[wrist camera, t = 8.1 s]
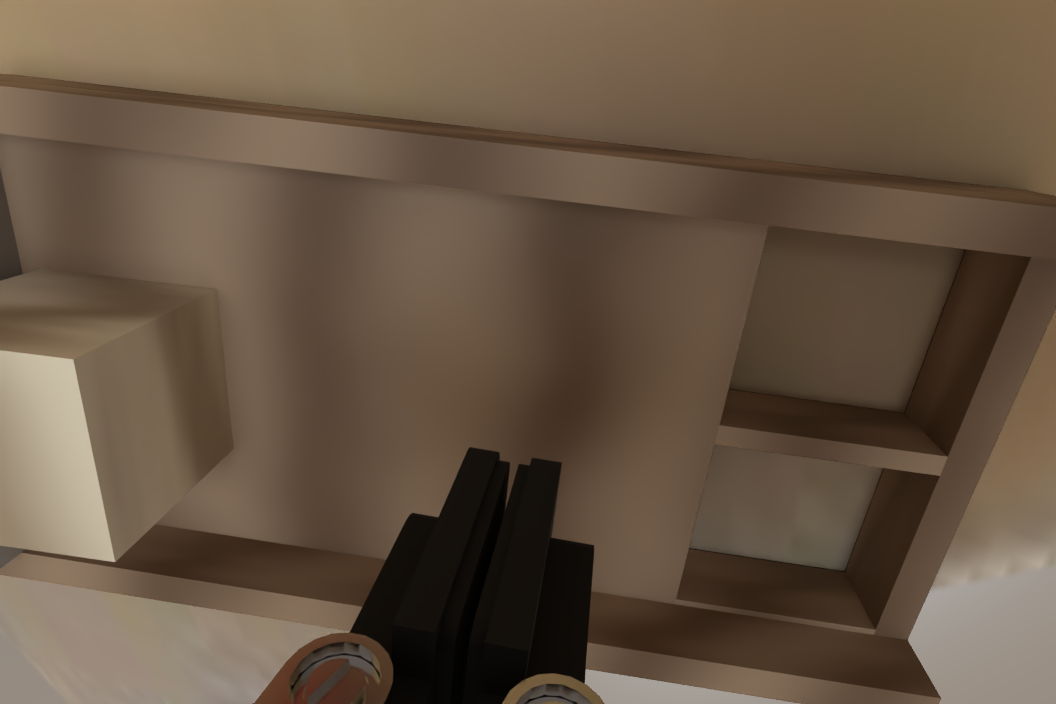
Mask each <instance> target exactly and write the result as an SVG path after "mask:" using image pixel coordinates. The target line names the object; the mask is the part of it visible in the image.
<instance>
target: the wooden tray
mask: <svg viewBox="0 0 1056 704" xmlns="http://www.w3.org/2000/svg"><path fill="white" fill-rule="evenodd" d="M769 226H776V227H784V228H793V229H801V230H809V231H818V232H826V233H834V234H843V235H851V236H859V237H868V238H876V239H885V240H893V241H901V242H910V243H918V244H926V245H935V246H943V247H951V248H960V249H966V251H965V254H964V256H963V259H962V262H961V264H960V267H959V270H958V272H957V275H956V278H955V280H954V283H953V286H952V288H951V291H950V294H949V296H948V299H947V302H946V304H945V307H944V310H943V312H942V315H941V318H940V320H939V323H938V326H937V328H936V331H935V334H934V336H933V339H932V342H931V344H930V347H929V350H928V352H927V355H926V358H925V360H924V363H923V366H922V368H921V371H920V374H919V376H918V379H917V382H916V384H915V387H914V390H913V392H912V395H911V398H910V400H909V403H908V406H907V408H906V411H905V413H900V412H892V411H885V410H877V409H870V408H862V407H855V406H848V405H840V404H833V403H825V402H818V401H810V400H803V399H795V398H788V397H781V396H773V395H766V394H758V393H751V392H743V391H736V390H729V385H730V381H731V377H732V373H733V369H734V365H735V361H736V357H737V353H738V349H739V345H740V341H741V337H742V333H743V329H744V325H745V321H746V317H747V313H748V309H749V305H750V301H751V297H752V293H753V289H754V285H755V281H756V277H757V273H758V269H759V265H760V261H761V257H762V253H763V249H764V245H765V241H766V237H767V233H768V228H769ZM41 268H42V269H51V270H60V271H68V272H77V273H85V274H94V275H103V276H111V277H120V278H128V279H137V280H146V281H154V282H163V283H171V284H180V285H189V286H197V287H206V288H215V289H217V297H218V306H219V316H220V325H221V334H222V344H223V353H224V362H225V372H226V381H227V390H228V400H229V409H230V418H231V428H232V437H233V447H234V449H233V450H232V451H231V452H230V453H229V454H228V455H227V456H226V457H225V458H224V459H222V460H221V461H220V462H219V463H218V464H217V465H216V466H215V467H214V468H213V469H212V470H211V471H210V472H209V473H208V474H207V475H206V476H205V477H204V478H203V479H202V480H201V481H199V482H198V483H197V484H196V485H195V486H194V487H193V488H192V489H191V490H190V491H189V492H188V493H187V494H186V495H185V496H184V497H183V498H182V499H181V500H180V501H179V502H178V503H177V504H175V505H174V506H173V507H172V508H171V509H170V510H169V511H168V512H167V513H166V514H165V515H164V516H163V517H162V518H161V519H160V520H159V521H158V522H157V523H156V524H155V525H154V526H153V527H151V528H150V529H149V530H148V531H147V532H146V533H145V534H144V535H143V536H142V537H141V538H140V539H139V540H138V541H137V542H136V543H135V544H134V545H133V546H132V547H131V548H130V549H128V550H127V551H126V552H125V553H124V554H123V555H122V556H121V557H120V558H119V559H118V560H117V561H116V562H110V561H103V560H97V559H90V558H83V557H76V556H69V555H62V554H55V553H48V552H41V551H35V550H28V549H21V548H14V547H7V546H0V575H5V576H11V577H18V578H24V579H30V580H36V581H43V582H49V583H55V584H61V585H67V586H74V587H80V588H86V589H92V590H98V591H105V592H111V593H117V594H123V595H130V596H136V597H142V598H148V599H154V600H161V601H167V602H173V603H179V604H185V605H192V606H198V607H204V608H210V609H217V610H223V611H229V612H235V613H241V614H248V615H254V616H260V617H266V618H272V619H279V620H285V621H291V622H297V623H304V624H310V625H316V626H322V627H328V628H335V629H341V630H347V631H351V629H352V627H353V625H354V623H355V621H356V619H357V617H358V615H359V613H360V611H361V609H362V607H363V605H364V603H365V601H366V599H367V597H368V595H369V593H370V591H371V589H372V587H373V585H374V583H375V581H376V579H377V577H378V575H379V573H380V571H381V569H382V567H383V565H384V563H385V561H386V559H387V557H388V555H389V553H390V551H391V549H392V547H393V545H394V543H395V541H396V539H397V537H398V535H399V533H400V531H401V529H402V527H403V525H404V523H405V521H406V520H407V518H408V516H409V515H410V514H411V513H417V514H423V515H428V516H434V517H439V515H440V512H441V510H442V508H443V505H444V503H445V501H446V499H447V496H448V494H449V492H450V489H451V487H452V485H453V482H454V480H455V478H456V476H457V473H458V471H459V469H460V466H461V464H462V462H463V459H464V457H465V455H466V452H467V450H468V448H469V447H472V448H478V449H484V450H490V451H496V452H499V453H500V460H501V461H507V462H510V471H509V481H508V491H507V500H506V506H507V503H508V499H509V496H510V492H511V489H512V485H513V482H514V478H515V475H516V471H517V468H518V465H519V464H524V465H530V463H531V459H532V458H538V459H544V460H550V461H556V462H562V467H561V474H560V481H559V488H558V495H557V502H556V509H555V516H554V523H553V530H552V537H551V538H557V539H562V540H568V541H573V542H579V543H585V544H590V545H594V562H593V575H592V589H591V602H590V615H589V629H588V642H587V656H586V669H589V670H596V671H602V672H608V673H614V674H620V675H627V676H633V677H639V678H645V679H652V680H658V681H664V682H670V683H677V684H683V685H689V686H695V687H702V688H707V689H714V690H720V691H726V692H732V693H738V694H745V695H751V696H757V697H763V698H770V699H776V700H782V701H788V702H794V703H801V704H939V702H940V700H941V697H940V696H939V694H938V692H937V691H936V689H935V687H934V685H933V684H932V682H931V680H930V678H929V677H928V675H927V673H926V671H925V670H924V668H923V666H922V665H921V663H920V661H919V659H918V658H917V656H916V654H915V653H914V651H913V649H912V647H911V646H910V644H909V642H908V637H909V635H910V633H911V631H912V629H913V626H914V624H915V622H916V619H917V617H918V615H919V613H920V611H921V608H922V606H923V604H924V602H925V599H926V597H927V595H928V593H929V591H930V588H931V586H932V584H933V582H934V579H935V577H936V575H937V573H938V570H939V568H940V566H941V564H942V561H943V559H944V557H945V555H946V552H947V550H948V548H949V546H950V544H951V541H952V539H953V537H954V535H955V532H956V530H957V528H958V526H959V523H960V521H961V519H962V517H963V514H964V512H965V510H966V508H967V505H968V503H969V501H970V499H971V497H972V494H973V492H974V490H975V488H976V485H977V483H978V481H979V479H980V476H981V474H982V472H983V470H984V467H985V465H986V463H987V461H988V458H989V456H990V454H991V452H992V450H993V447H994V445H995V443H996V441H997V438H998V436H999V434H1000V432H1001V429H1002V427H1003V425H1004V423H1005V420H1006V418H1007V416H1008V414H1009V411H1010V409H1011V407H1012V405H1013V402H1014V400H1015V398H1016V396H1017V394H1018V391H1019V389H1020V387H1021V385H1022V382H1023V380H1024V378H1025V376H1026V373H1027V371H1028V369H1029V367H1030V364H1031V362H1032V360H1033V358H1034V355H1035V353H1036V351H1037V349H1038V347H1039V344H1040V342H1041V340H1042V338H1043V335H1044V333H1045V331H1046V329H1047V326H1048V324H1049V322H1050V320H1051V317H1052V315H1053V313H1054V311H1055V308H1056V196H1052V195H1047V194H1042V193H1037V192H1033V191H1026V190H1017V189H1009V188H1000V187H991V186H982V185H974V184H965V183H956V182H947V181H939V180H930V179H921V178H912V177H904V176H895V175H886V174H877V173H869V172H860V171H851V170H842V169H833V168H825V167H816V166H807V165H798V164H790V163H781V162H772V161H763V160H755V159H746V158H737V157H728V156H720V155H711V154H702V153H693V152H685V151H676V150H667V149H658V148H649V147H641V146H632V145H623V144H614V143H606V142H597V141H588V140H579V139H571V138H562V137H553V136H544V135H536V134H527V133H518V132H509V131H501V130H492V129H483V128H474V127H466V126H457V125H448V124H439V123H430V122H422V121H413V120H404V119H395V118H387V117H378V116H369V115H360V114H352V113H343V112H334V111H325V110H317V109H308V108H299V107H290V106H282V105H273V104H264V103H255V102H247V101H238V100H229V99H220V98H211V97H203V96H194V95H185V94H176V93H168V92H159V91H150V90H141V89H133V88H124V87H115V86H106V85H98V84H89V83H80V82H71V81H63V80H54V79H45V78H36V77H27V76H19V75H8V74H0V281H1V280H5V279H8V278H11V277H15V276H18V275H21V274H25V273H28V272H31V271H35V270H38V269H41ZM714 445H722V446H729V447H736V448H743V449H750V450H758V451H765V452H772V453H779V454H786V455H793V456H801V457H808V458H815V459H822V460H829V461H836V462H844V463H851V464H858V465H865V466H872V467H879V468H884V470H883V472H882V475H881V478H880V480H879V483H878V486H877V488H876V491H875V494H874V496H873V499H872V502H871V504H870V507H869V510H868V512H867V515H866V518H865V520H864V523H863V526H862V528H861V531H860V534H859V536H858V539H857V542H856V544H855V547H854V550H853V552H852V555H851V558H850V560H849V563H848V566H847V568H846V571H845V572H840V571H834V570H827V569H820V568H813V567H807V566H800V565H793V564H787V563H780V562H773V561H766V560H760V559H753V558H746V557H740V556H733V555H726V554H719V553H713V552H706V551H699V550H693V549H689V545H690V541H691V537H692V533H693V529H694V525H695V521H696V517H697V513H698V509H699V505H700V501H701V497H702V493H703V489H704V485H705V481H706V477H707V473H708V469H709V465H710V461H711V457H712V453H713V449H714Z"/></svg>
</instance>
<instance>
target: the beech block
mask: <svg viewBox="0 0 1056 704" xmlns="http://www.w3.org/2000/svg"><path fill="white" fill-rule="evenodd" d="M233 449H234V447H233V437H232V428H231V418H230V409H229V400H228V390H227V381H226V372H225V362H224V353H223V344H222V334H221V325H220V316H219V306H218V297H217V289H215V288H206V287H197V286H189V285H180V284H171V283H163V282H154V281H146V280H137V279H128V278H120V277H111V276H103V275H94V274H85V273H77V272H68V271H60V270H51V269H42V268H41V269H38V270H35V271H31V272H28V273H25V274H21V275H18V276H15V277H11V278H8V279H5V280H1V281H0V546H7V547H14V548H21V549H28V550H35V551H41V552H48V553H55V554H62V555H69V556H76V557H83V558H90V559H97V560H103V561H110V562H116V561H117V560H118V559H119V558H120V557H121V556H122V555H123V554H124V553H125V552H126V551H127V550H128V549H130V548H131V547H132V546H133V545H134V544H135V543H136V542H137V541H138V540H139V539H140V538H141V537H142V536H143V535H144V534H145V533H146V532H147V531H148V530H149V529H150V528H151V527H153V526H154V525H155V524H156V523H157V522H158V521H159V520H160V519H161V518H162V517H163V516H164V515H165V514H166V513H167V512H168V511H169V510H170V509H171V508H172V507H173V506H174V505H175V504H177V503H178V502H179V501H180V500H181V499H182V498H183V497H184V496H185V495H186V494H187V493H188V492H189V491H190V490H191V489H192V488H193V487H194V486H195V485H196V484H197V483H198V482H199V481H201V480H202V479H203V478H204V477H205V476H206V475H207V474H208V473H209V472H210V471H211V470H212V469H213V468H214V467H215V466H216V465H217V464H218V463H219V462H220V461H221V460H222V459H224V458H225V457H226V456H227V455H228V454H229V453H230V452H231V451H232V450H233Z"/></svg>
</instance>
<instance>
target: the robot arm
mask: <svg viewBox="0 0 1056 704" xmlns="http://www.w3.org/2000/svg"><path fill="white" fill-rule="evenodd" d="M561 467H562V462H556V461H550V460H544V459H538V458H532V459H531V463H530V465H524V464H519V465H518V468H517V471H516V475H515V478H514V482H513V485H512V489H511V492H510V496H509V499H508V503H507V506H506V500H507V491H508V481H509V471H510V462H507V461H501V460H500V453H499V452H496V451H490V450H484V449H478V448H472V447H469V448H468V450H467V452H466V455H465V457H464V459H463V462H462V464H461V466H460V469H459V471H458V473H457V476H456V478H455V480H454V482H453V485H452V487H451V489H450V492H449V494H448V496H447V499H446V501H445V503H444V505H443V508H442V510H441V512H440V515H439V517H434V516H428V515H423V514H417V513H411V514H410V515H409V516H408V518H407V520H406V521H405V523H404V525H403V527H402V529H401V531H400V533H399V535H398V537H397V539H396V541H395V543H394V545H393V547H392V549H391V551H390V553H389V555H388V557H387V559H386V561H385V563H384V565H383V567H382V569H381V571H380V573H379V575H378V577H377V579H376V581H375V583H374V585H373V587H372V589H371V591H370V593H369V595H368V597H367V599H366V601H365V603H364V605H363V607H362V609H361V611H360V613H359V615H358V617H357V619H356V621H355V623H354V625H353V627H352V629H351V631H350V633H336V634H330V635H327V636H324V637H321V638H318V639H315V640H313V641H312V642H310V643H308V644H307V645H305V646H303V647H302V648H300V649H299V650H298V651H297V652H296V653H295V654H294V655H293V656H292V657H291V658H290V659H289V660H288V661H287V662H286V663H285V664H284V666H283V667H282V668H281V669H280V671H279V672H278V673H277V675H276V676H275V677H274V678H273V680H272V681H271V682H270V684H269V685H268V686H267V687H266V689H265V690H264V691H263V692H262V694H261V695H260V696H259V698H258V699H257V700H256V701H255V703H253V704H604V702H603V701H602V699H601V698H600V696H598V695H597V694H596V693H595V692H594V691H593V690H592V689H591V688H590V687H589V686H587V685H586V684H584V683H585V669H586V656H587V642H588V629H589V615H590V602H591V589H592V575H593V562H594V545H590V544H585V543H579V542H573V541H568V540H562V539H557V538H551V537H552V530H553V523H554V516H555V509H556V502H557V495H558V488H559V481H560V474H561Z"/></svg>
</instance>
